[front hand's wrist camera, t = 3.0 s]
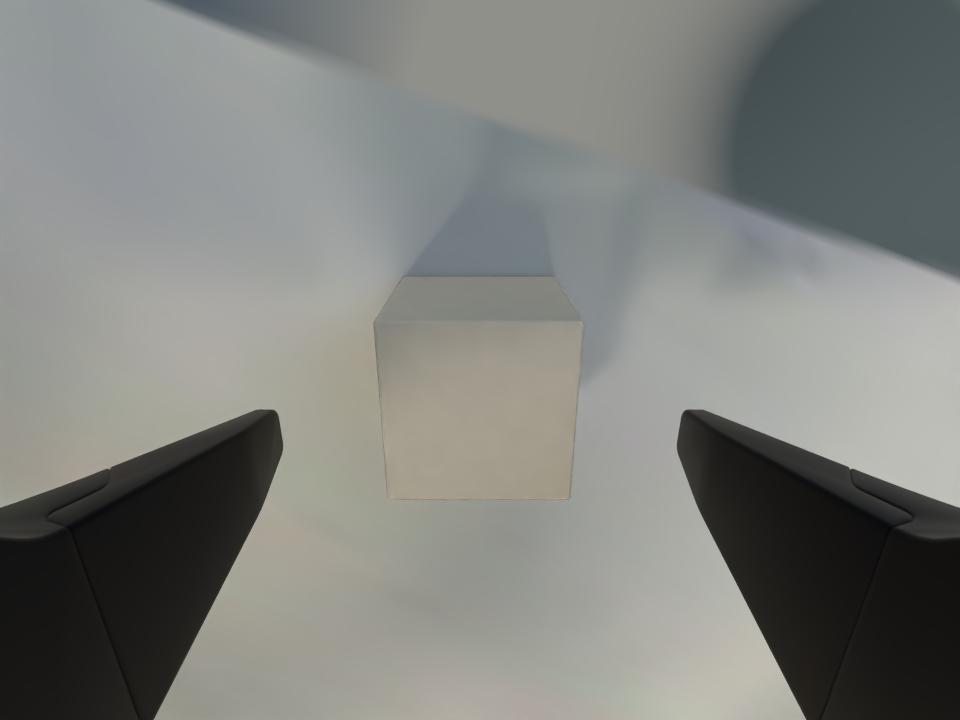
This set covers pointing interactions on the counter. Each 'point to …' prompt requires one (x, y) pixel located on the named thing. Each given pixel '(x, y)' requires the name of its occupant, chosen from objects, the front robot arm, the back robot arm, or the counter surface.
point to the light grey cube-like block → (478, 388)
